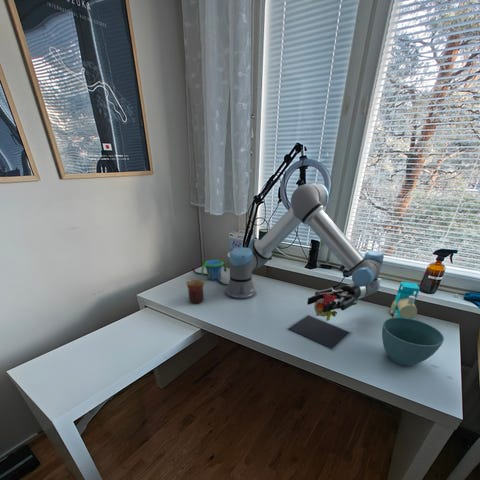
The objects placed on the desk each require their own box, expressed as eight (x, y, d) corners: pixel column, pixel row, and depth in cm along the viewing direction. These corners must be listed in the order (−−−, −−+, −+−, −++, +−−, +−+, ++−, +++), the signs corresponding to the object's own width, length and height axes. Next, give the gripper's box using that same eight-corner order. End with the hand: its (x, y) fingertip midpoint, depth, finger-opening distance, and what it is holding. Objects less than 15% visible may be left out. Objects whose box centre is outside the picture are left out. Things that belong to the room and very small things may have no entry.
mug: (203, 305, 132) (202, 286, 127) (186, 304, 132) (184, 285, 127) (207, 295, 142) (206, 276, 137) (190, 294, 142) (189, 276, 137)
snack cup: (204, 283, 156) (203, 266, 151) (199, 277, 165) (198, 261, 159) (229, 279, 161) (229, 263, 156) (223, 273, 170) (223, 258, 164)
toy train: (393, 326, 117) (405, 295, 109) (389, 310, 130) (399, 281, 123) (414, 330, 114) (427, 298, 107) (407, 312, 128) (418, 283, 120)
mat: (288, 329, 114) (288, 328, 114) (308, 316, 124) (308, 315, 124) (331, 349, 102) (331, 348, 102) (349, 332, 112) (349, 332, 112)
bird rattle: (313, 323, 109) (334, 322, 102) (307, 297, 106) (328, 294, 100) (320, 317, 113) (341, 316, 106) (314, 292, 110) (335, 289, 104)
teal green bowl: (369, 362, 95) (379, 333, 89) (378, 338, 108) (387, 312, 102) (428, 382, 87) (444, 352, 81) (430, 354, 100) (444, 326, 94)
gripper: (371, 308, 109) (335, 324, 98) (331, 291, 124) (296, 304, 113) (376, 292, 106) (339, 306, 94) (335, 276, 120) (298, 287, 109)
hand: (315, 305), depth 104 cm, fingers closed on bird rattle, 7 cm apart
